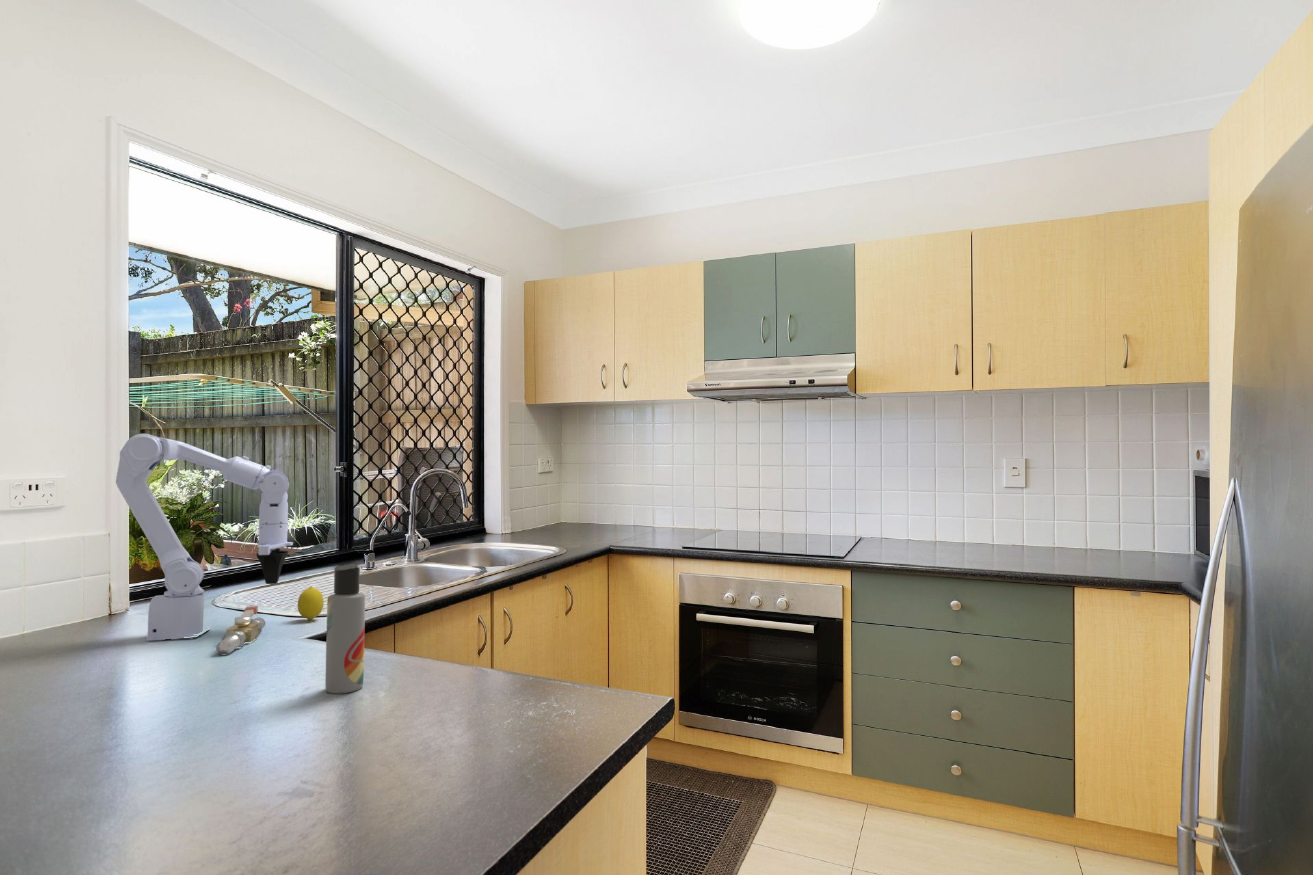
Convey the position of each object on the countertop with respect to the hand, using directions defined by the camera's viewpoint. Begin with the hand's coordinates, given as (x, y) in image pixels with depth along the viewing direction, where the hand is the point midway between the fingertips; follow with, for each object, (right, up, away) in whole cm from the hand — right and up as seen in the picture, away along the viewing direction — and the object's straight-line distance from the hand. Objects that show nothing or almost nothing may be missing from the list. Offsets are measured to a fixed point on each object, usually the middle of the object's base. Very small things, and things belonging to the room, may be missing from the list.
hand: (271, 583), depth 159 cm
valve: (+1, -9, -14) cm, 16 cm away
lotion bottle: (+36, -8, -45) cm, 58 cm away
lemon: (+5, -11, +7) cm, 14 cm away
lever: (-1, -6, -8) cm, 10 cm away
